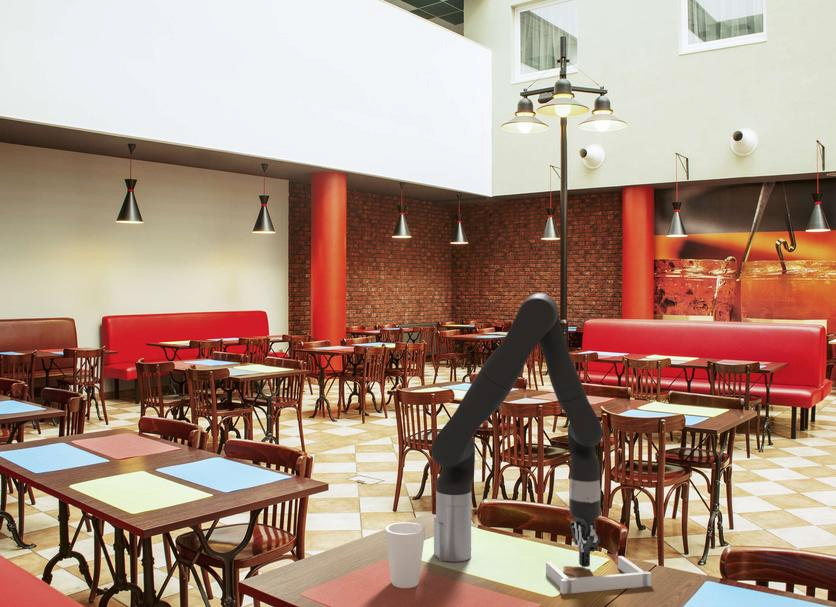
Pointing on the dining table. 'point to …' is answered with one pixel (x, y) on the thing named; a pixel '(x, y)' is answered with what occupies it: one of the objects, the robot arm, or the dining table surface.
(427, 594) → the dining table surface
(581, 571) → the sandwich
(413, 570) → the foam cup
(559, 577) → the box
